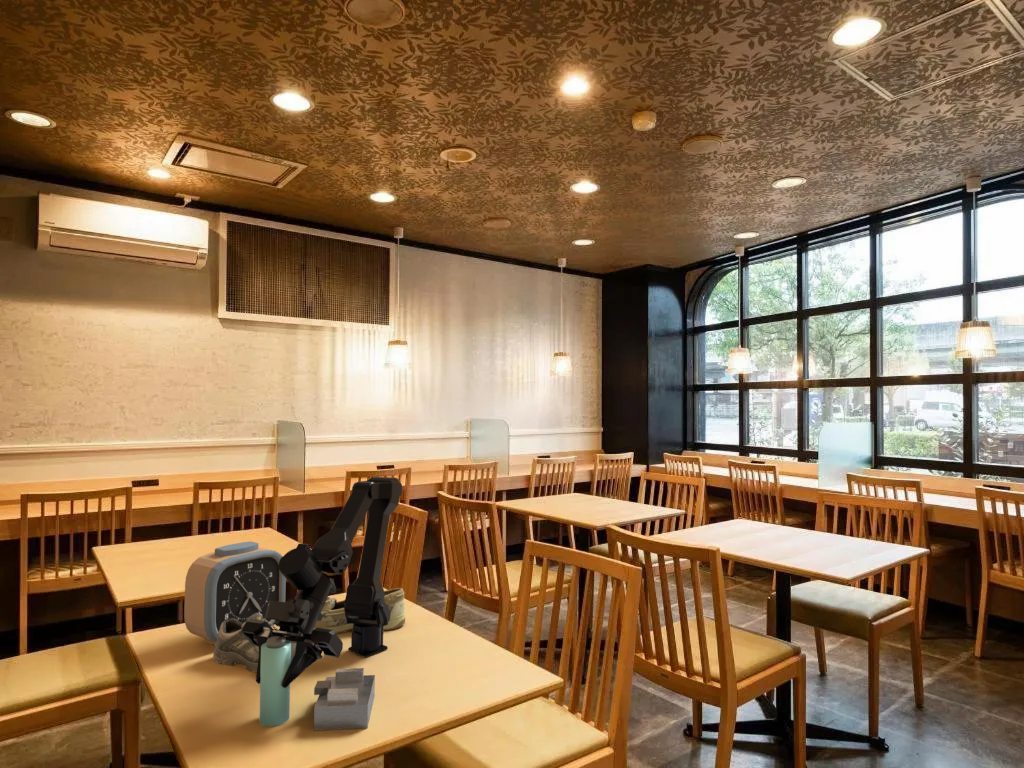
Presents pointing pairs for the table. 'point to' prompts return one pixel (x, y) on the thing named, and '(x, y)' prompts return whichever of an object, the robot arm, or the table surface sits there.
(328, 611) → the boat shoe
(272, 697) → the bottle
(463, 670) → the table surface
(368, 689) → the block
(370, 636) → the robot arm
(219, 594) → the alarm clock
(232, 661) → the hiking shoe
